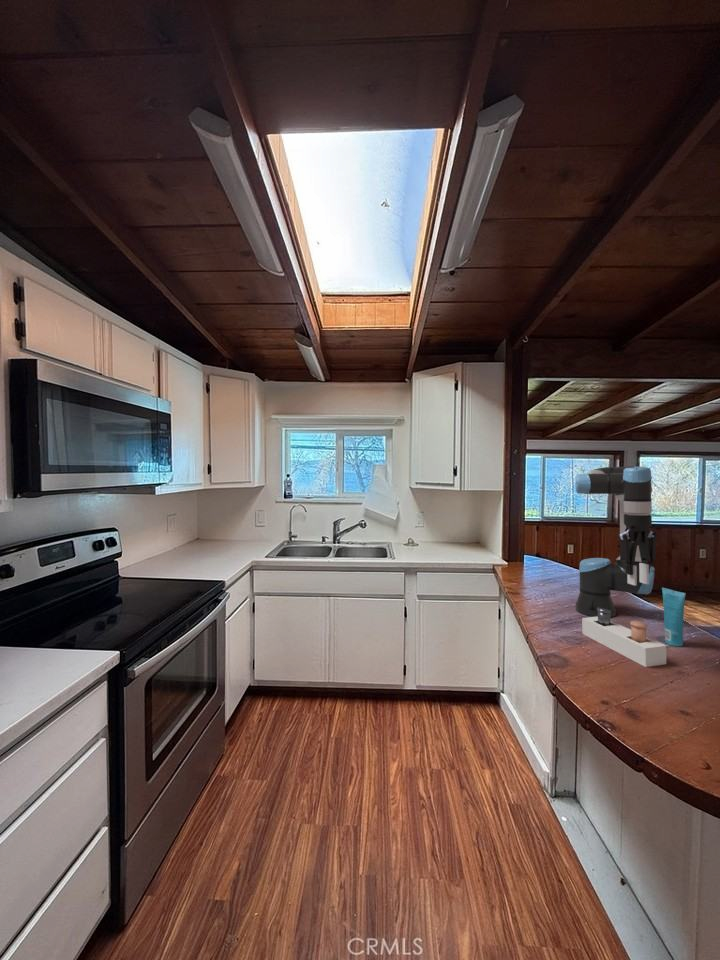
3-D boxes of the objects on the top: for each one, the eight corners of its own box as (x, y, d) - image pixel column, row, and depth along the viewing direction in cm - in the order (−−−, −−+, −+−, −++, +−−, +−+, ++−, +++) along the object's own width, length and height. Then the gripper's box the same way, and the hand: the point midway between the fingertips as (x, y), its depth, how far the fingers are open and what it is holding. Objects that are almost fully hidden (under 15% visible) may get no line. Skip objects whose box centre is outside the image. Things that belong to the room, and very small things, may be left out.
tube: (689, 646, 134) (689, 592, 134) (682, 649, 132) (682, 594, 131) (665, 638, 141) (664, 586, 140) (658, 641, 138) (657, 588, 138)
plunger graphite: (604, 625, 144) (604, 606, 143) (614, 630, 139) (614, 610, 139) (594, 626, 143) (594, 607, 142) (604, 631, 138) (603, 611, 138)
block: (600, 631, 148) (600, 616, 148) (666, 664, 122) (666, 645, 122) (582, 633, 146) (582, 618, 146) (645, 667, 121) (645, 648, 120)
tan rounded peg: (638, 641, 130) (638, 620, 130) (650, 647, 125) (650, 625, 125) (627, 642, 129) (627, 621, 129) (639, 648, 125) (639, 626, 124)
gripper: (648, 511, 132) (648, 578, 132) (605, 513, 128) (606, 582, 129) (669, 513, 124) (670, 584, 125) (625, 516, 121) (626, 589, 121)
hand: (638, 583), depth 127 cm, fingers open, 4 cm apart
